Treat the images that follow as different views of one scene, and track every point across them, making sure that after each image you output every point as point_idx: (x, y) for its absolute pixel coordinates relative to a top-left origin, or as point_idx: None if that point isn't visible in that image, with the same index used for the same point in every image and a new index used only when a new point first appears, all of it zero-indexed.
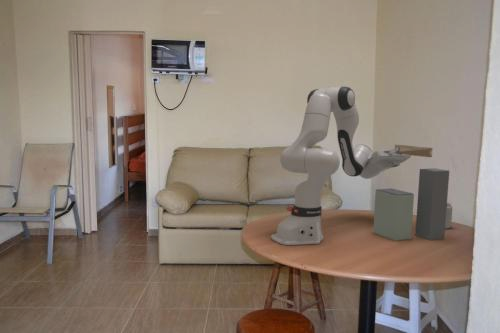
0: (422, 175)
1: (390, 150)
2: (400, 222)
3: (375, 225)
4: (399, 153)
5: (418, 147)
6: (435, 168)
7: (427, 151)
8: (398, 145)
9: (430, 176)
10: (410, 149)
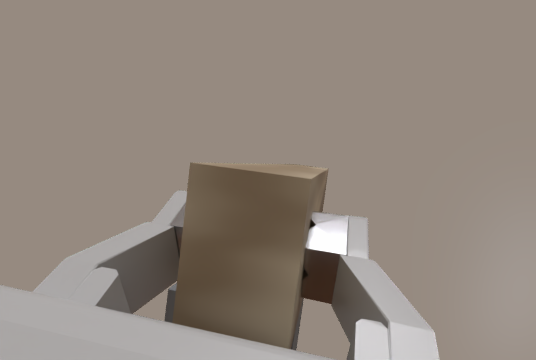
0: (294, 341)
1: (424, 340)
2: None
3: None
4: (300, 304)
5: (326, 172)
6: (174, 286)
7: (325, 189)
8: (316, 182)
9: (300, 313)
10: (320, 201)
